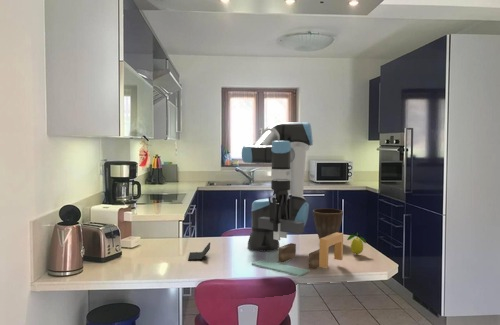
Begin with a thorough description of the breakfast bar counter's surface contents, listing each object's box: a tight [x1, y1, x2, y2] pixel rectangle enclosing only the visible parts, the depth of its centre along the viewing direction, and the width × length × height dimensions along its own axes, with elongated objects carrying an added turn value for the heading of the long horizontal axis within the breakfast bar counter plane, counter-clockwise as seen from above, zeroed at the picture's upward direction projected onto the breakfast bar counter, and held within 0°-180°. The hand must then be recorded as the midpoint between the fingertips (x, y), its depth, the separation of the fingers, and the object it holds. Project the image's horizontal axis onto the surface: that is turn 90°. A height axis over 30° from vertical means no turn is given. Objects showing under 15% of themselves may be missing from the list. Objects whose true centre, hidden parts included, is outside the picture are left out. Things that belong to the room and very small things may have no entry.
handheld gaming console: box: [187, 242, 211, 262], centre depth 175 cm, size 12×7×10 cm
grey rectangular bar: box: [258, 217, 305, 235], centre depth 159 cm, size 19×4×4 cm, turn 52°
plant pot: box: [312, 208, 344, 240], centre depth 203 cm, size 15×15×16 cm
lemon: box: [347, 232, 367, 256], centre depth 180 cm, size 7×6×10 cm
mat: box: [251, 259, 311, 277], centre depth 160 cm, size 23×7×1 cm, turn 52°
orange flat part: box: [318, 232, 344, 269], centre depth 159 cm, size 3×14×11 cm, turn 142°
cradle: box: [277, 242, 320, 270], centre depth 167 cm, size 17×10×6 cm, turn 52°
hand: (280, 238), depth 159 cm, fingers closed on grey rectangular bar, 4 cm apart
